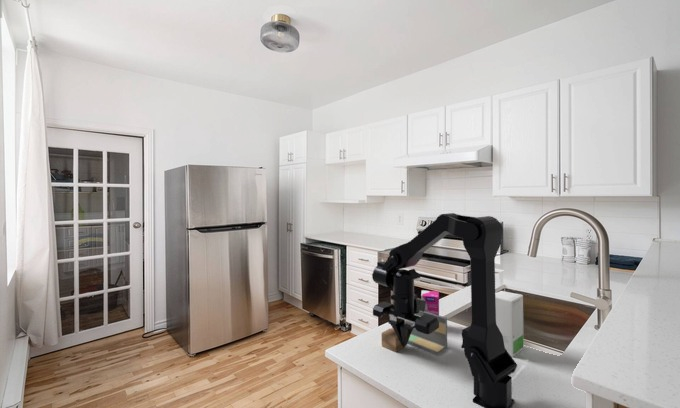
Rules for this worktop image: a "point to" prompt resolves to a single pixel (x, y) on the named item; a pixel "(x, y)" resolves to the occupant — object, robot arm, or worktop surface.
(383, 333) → the block
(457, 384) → the worktop surface
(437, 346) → the tuner gauge
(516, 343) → the skincare box
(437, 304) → the supplement box
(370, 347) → the worktop surface
